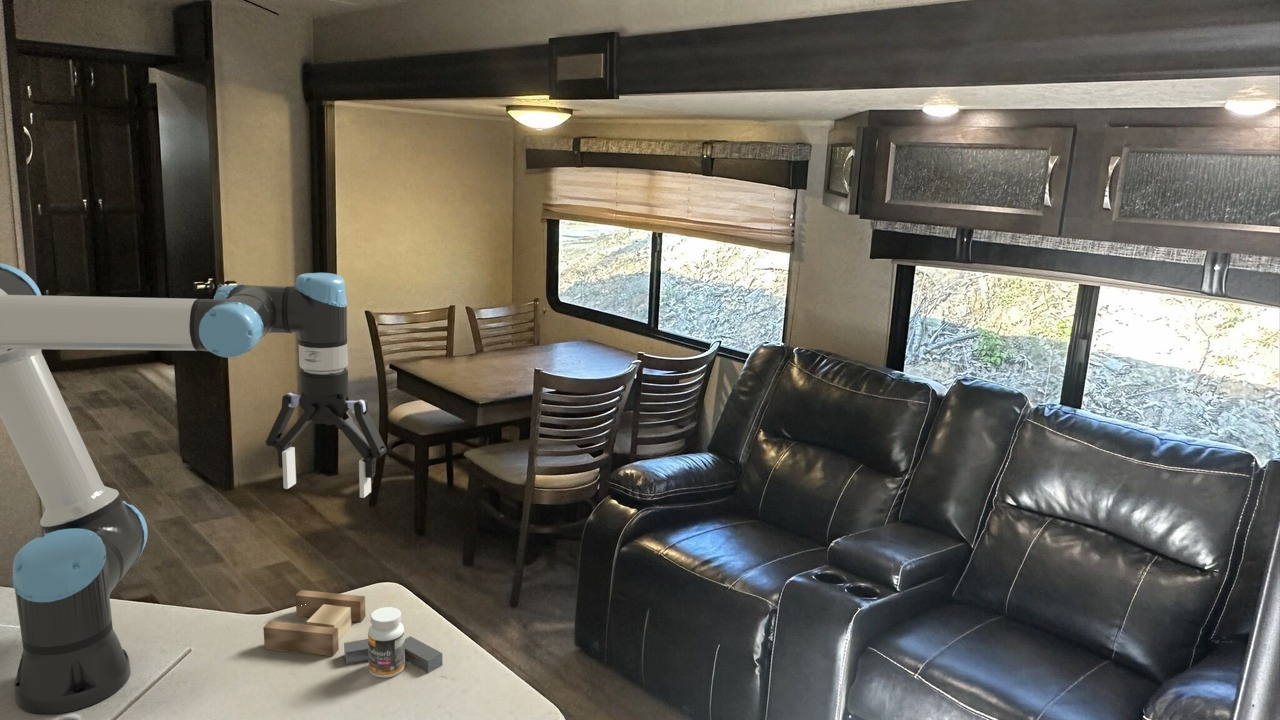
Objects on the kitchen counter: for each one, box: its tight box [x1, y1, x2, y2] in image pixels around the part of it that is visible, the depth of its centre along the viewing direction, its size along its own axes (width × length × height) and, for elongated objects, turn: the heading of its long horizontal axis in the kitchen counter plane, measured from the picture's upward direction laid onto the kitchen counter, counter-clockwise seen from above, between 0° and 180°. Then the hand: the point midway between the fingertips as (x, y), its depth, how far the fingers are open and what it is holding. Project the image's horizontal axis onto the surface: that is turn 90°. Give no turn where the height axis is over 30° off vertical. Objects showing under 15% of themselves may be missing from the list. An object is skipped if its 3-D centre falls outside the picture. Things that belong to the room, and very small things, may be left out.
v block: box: [343, 635, 444, 674], centre depth 150 cm, size 17×7×2 cm, turn 83°
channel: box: [262, 589, 366, 657], centre depth 156 cm, size 12×13×4 cm
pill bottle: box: [367, 606, 406, 679], centre depth 146 cm, size 6×6×10 cm
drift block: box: [305, 604, 352, 643], centre depth 156 cm, size 5×6×4 cm
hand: (327, 490), depth 153 cm, fingers open, 13 cm apart
